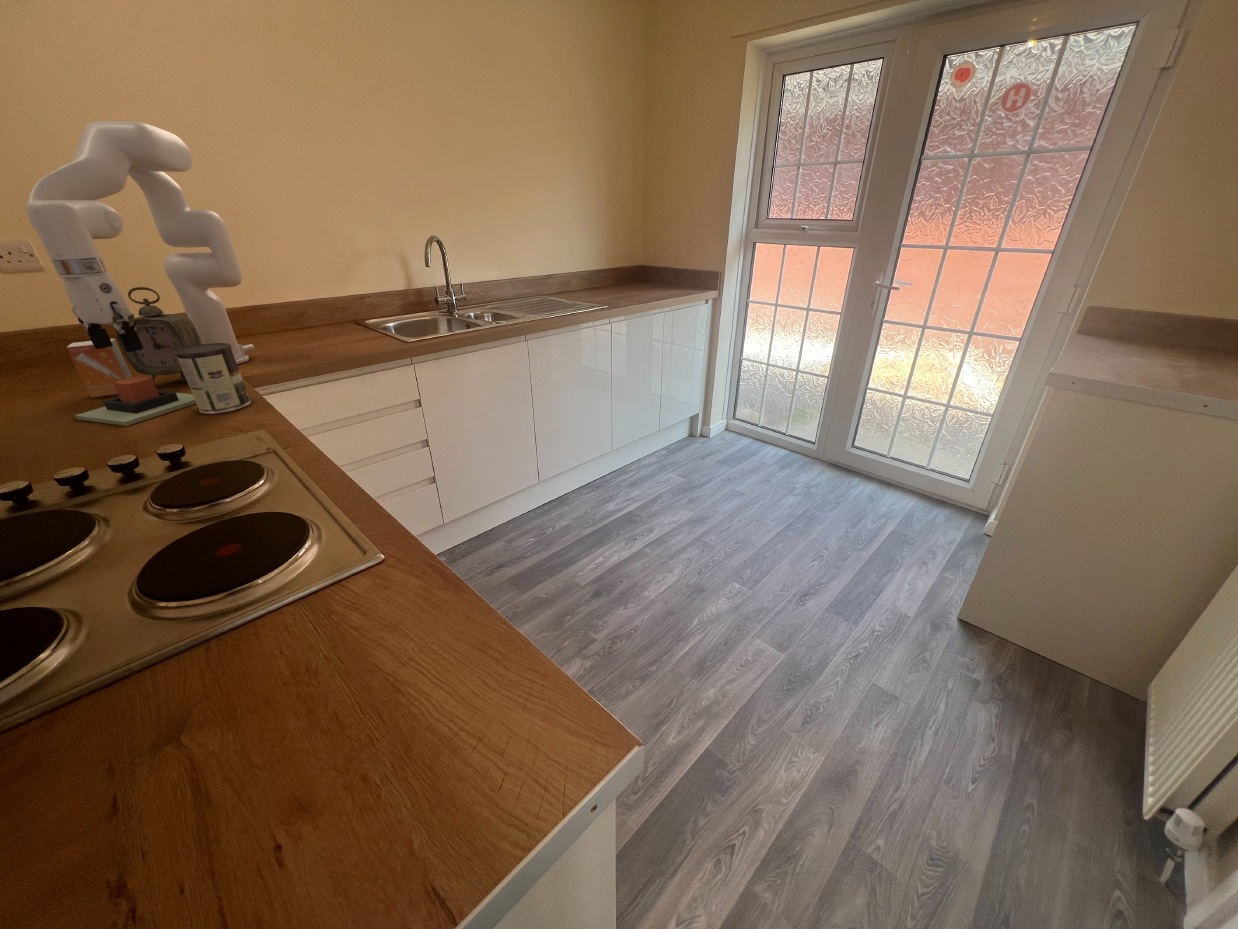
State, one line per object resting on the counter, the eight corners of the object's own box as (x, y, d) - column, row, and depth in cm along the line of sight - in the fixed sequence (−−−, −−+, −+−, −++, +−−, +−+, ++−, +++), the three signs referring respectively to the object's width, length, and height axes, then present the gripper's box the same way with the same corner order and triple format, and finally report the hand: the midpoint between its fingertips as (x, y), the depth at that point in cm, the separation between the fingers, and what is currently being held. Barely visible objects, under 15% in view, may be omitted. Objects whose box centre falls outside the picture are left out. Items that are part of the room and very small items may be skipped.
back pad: (161, 394, 128) (156, 383, 127) (208, 399, 124) (203, 388, 123) (76, 419, 113) (70, 406, 112) (126, 426, 109) (120, 413, 107)
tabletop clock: (140, 389, 133) (95, 290, 121) (162, 379, 141) (122, 285, 129) (200, 385, 135) (161, 288, 123) (218, 376, 143) (183, 283, 131)
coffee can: (231, 397, 125) (210, 341, 119) (261, 401, 122) (241, 344, 116) (187, 411, 116) (162, 351, 110) (219, 416, 113) (194, 354, 107)
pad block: (147, 400, 121) (136, 376, 118) (162, 402, 120) (152, 378, 117) (124, 407, 117) (112, 382, 114) (139, 409, 115) (128, 384, 113)
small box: (91, 398, 126) (64, 347, 120) (96, 392, 131) (72, 342, 125) (133, 392, 130) (109, 342, 124) (137, 386, 135) (115, 337, 129)
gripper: (130, 267, 106) (165, 347, 114) (74, 264, 110) (111, 342, 118) (88, 271, 99) (128, 356, 107) (30, 268, 104) (73, 350, 112)
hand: (119, 348), depth 113 cm, fingers open, 9 cm apart
